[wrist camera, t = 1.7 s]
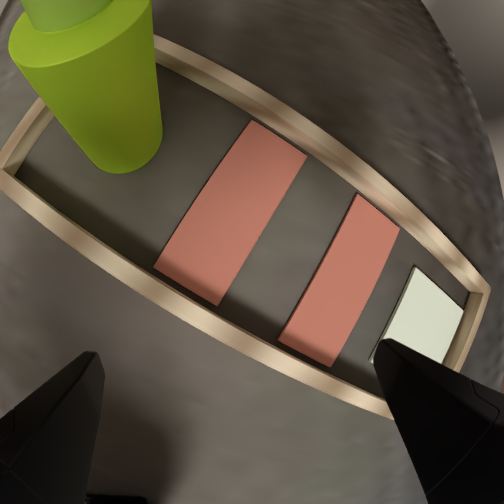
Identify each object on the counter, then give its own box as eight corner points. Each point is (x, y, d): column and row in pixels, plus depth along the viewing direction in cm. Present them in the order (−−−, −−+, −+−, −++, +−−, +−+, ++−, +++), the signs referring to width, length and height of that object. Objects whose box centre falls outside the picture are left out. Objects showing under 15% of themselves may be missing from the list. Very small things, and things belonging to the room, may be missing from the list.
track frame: (-2, 182, 17) (-14, 176, 15) (118, 33, 19) (115, 19, 17) (414, 424, 24) (426, 431, 22) (478, 287, 26) (491, 288, 24)
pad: (368, 360, 23) (370, 361, 22) (413, 267, 24) (416, 267, 24) (424, 390, 24) (426, 391, 24) (460, 310, 26) (463, 311, 25)
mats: (153, 267, 20) (153, 267, 19) (251, 121, 22) (252, 119, 21) (328, 366, 22) (330, 367, 22) (397, 229, 24) (399, 228, 24)
